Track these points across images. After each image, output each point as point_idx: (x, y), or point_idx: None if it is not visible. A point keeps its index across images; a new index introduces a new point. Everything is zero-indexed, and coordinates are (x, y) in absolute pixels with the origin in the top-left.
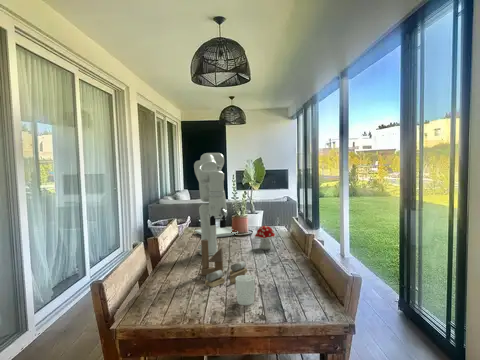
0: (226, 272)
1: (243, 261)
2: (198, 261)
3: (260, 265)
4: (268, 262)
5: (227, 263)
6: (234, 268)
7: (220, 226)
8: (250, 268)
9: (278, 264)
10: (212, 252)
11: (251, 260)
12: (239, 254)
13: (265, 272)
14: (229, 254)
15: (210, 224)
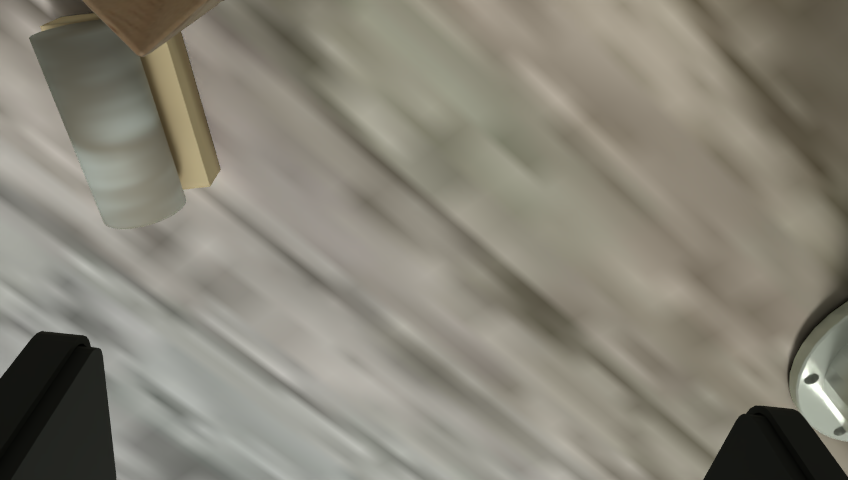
0: (270, 38)
1: (113, 219)
2: (837, 110)
3: (216, 380)
4: (236, 461)
5: (501, 252)
6: (62, 29)
7: (19, 361)
8: (205, 277)
9: (136, 468)
10: (841, 357)
11: (388, 425)
12: (601, 474)
13: (12, 278)
14: (683, 432)
15: (788, 430)
